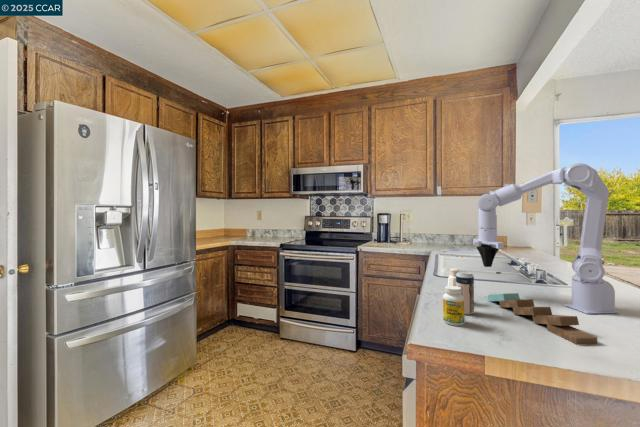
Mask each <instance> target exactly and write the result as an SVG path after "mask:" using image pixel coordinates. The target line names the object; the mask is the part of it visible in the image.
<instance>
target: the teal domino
mask: <svg viewBox="0 0 640 427" xmlns="http://www.w3.org/2000/svg"><path fill="white" fill-rule="evenodd" d="M487 299H488V302H499V301H503V300H521V299H520V294H519V292H518V293H516V292H515V293H514V292H513V293H495V294H487Z"/></svg>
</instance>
